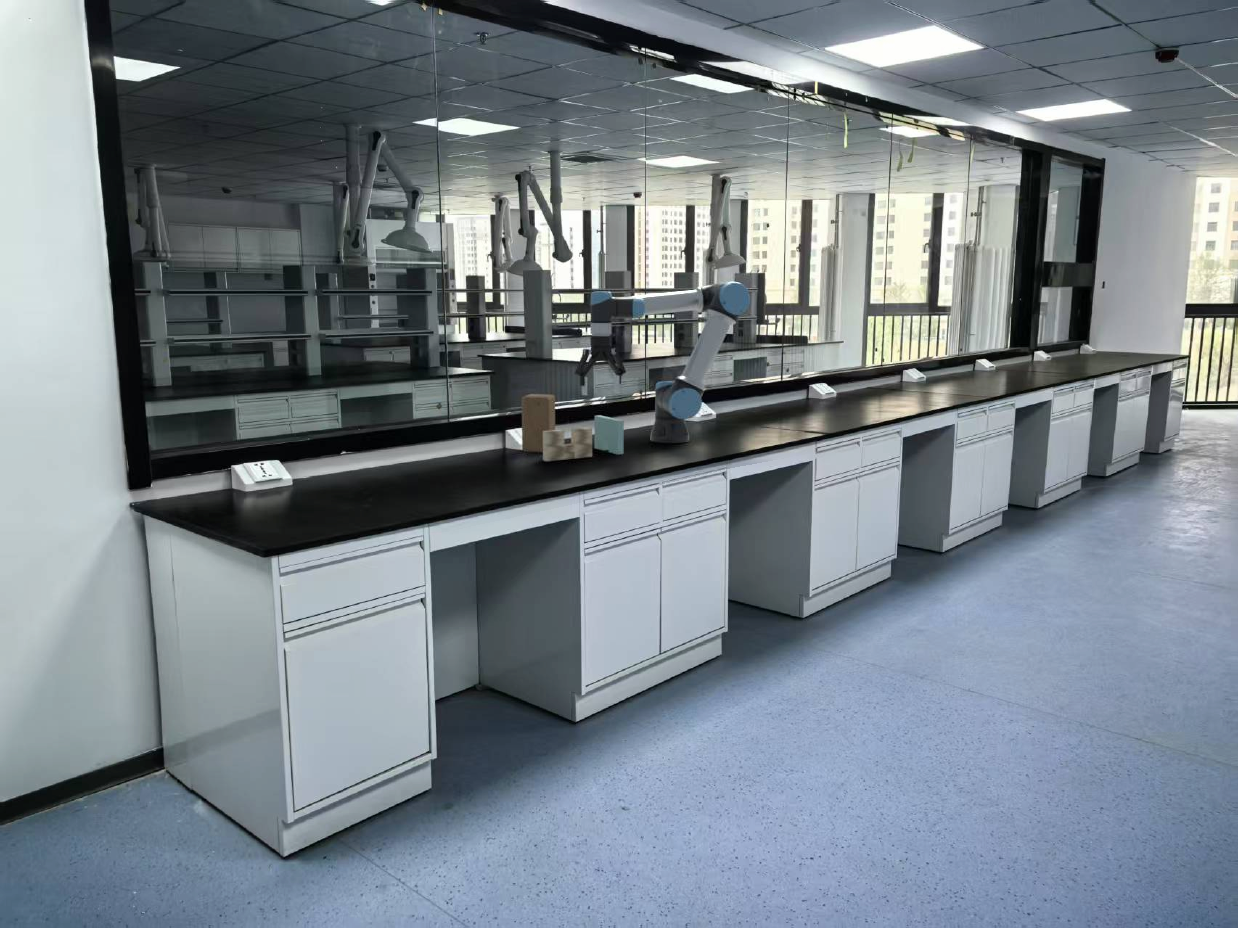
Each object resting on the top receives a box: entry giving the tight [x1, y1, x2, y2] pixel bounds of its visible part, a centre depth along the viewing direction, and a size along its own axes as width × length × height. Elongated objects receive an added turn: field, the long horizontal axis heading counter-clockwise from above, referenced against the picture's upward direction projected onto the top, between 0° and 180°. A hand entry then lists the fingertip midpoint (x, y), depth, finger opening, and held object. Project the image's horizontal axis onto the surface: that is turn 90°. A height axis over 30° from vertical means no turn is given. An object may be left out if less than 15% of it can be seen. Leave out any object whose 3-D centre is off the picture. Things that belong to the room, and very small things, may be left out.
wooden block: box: [521, 393, 556, 454], centre depth 320 cm, size 10×10×20 cm
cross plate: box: [594, 414, 625, 455], centre depth 321 cm, size 16×2×12 cm, turn 32°
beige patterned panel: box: [542, 427, 593, 462], centre depth 305 cm, size 18×2×10 cm, turn 122°
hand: (600, 394), depth 323 cm, fingers open, 13 cm apart
